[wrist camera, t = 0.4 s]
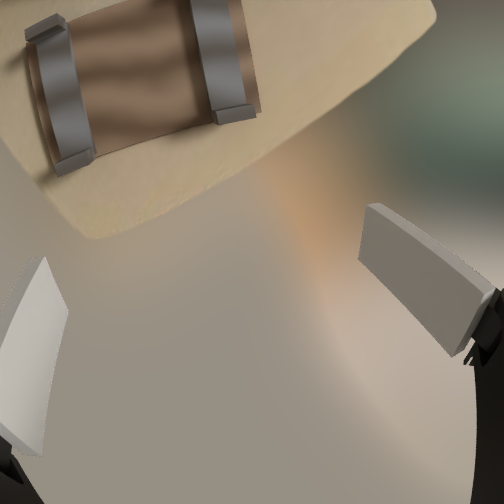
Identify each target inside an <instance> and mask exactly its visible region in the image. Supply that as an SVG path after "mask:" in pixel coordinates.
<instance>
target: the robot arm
mask: <svg viewBox="0 0 504 504" xmlns="http://www.w3.org/2000/svg"><path fill="white" fill-rule="evenodd" d="M358 259H359V261H361V262H362V263H363V264H364V265H365V266H366V267H367V268H368V269H369V270H370V271H371V272H372V273H373V274H374V275H375V276H376V277H377V278H378V279H379V280H380V281H381V282H382V283H383V284H384V285H385V286H386V287H387V288H388V289H389V290H390V291H391V292H392V293H393V294H394V296H395V297H397V299H398V300H399V301H400V302H401V303H402V304H403V305H404V306H405V307H406V308H407V309H408V310H409V311H410V312H411V313H412V314H413V315H414V317H416V319H417V320H418V321H419V322H420V323H421V324H422V325H423V326H424V327H425V328H426V329H427V331H428V332H429V333H430V334H431V335H432V336H433V337H434V338H435V339H436V341H437V342H438V343H439V344H440V345H441V346H442V347H443V348H444V350H446V352H447V353H448V354H449V355H450V356H451V357H453V356H455V355H456V354H458V353H459V352H461V351H463V350H464V349H465V347H466V345H467V344H468V342H469V340H470V338H471V337H472V338H473V339H474V340H475V343H474V345H473V346H472V348H471V350H470V351H469V353H468V355H467V356H466V358H465V359H464V365H466V364H467V362H468V361H469V359H470V358H471V357H473V359H472V360H471V362H470V364H469V365H470V366H474V372H475V385H476V406H477V438H476V440H477V441H476V458H475V471H474V480H473V488H472V496H471V502H470V504H504V288H503V289H502V291H500V290H498V289H497V288H496V287H495V286H494V285H492V284H491V283H490V282H489V281H488V280H486V279H485V278H484V277H483V276H481V275H480V274H479V273H478V272H477V271H475V270H474V269H473V268H471V267H470V266H469V265H468V264H466V263H465V262H464V261H463V260H461V259H460V258H459V257H458V256H456V255H454V254H453V253H452V252H451V251H449V250H448V249H447V248H445V247H444V246H443V245H441V244H440V243H439V242H437V241H436V240H434V239H433V238H432V237H430V236H429V235H427V234H426V233H424V232H423V231H421V230H420V229H419V228H417V227H416V226H414V225H413V224H411V223H410V222H408V221H407V220H405V219H404V218H402V217H401V216H399V215H398V214H396V213H395V212H393V211H392V210H390V209H389V208H387V207H386V206H384V205H382V204H381V203H375V204H367V205H366V211H365V219H364V226H363V232H362V239H361V245H360V251H359V257H358ZM68 312H69V311H68V309H67V307H66V305H65V303H64V301H63V299H62V296H61V294H60V292H59V289H58V287H57V285H56V282H55V280H54V278H53V275H52V273H51V270H50V268H49V265H48V263H47V260H46V257H45V256H41V257H36V258H31V259H29V261H28V262H27V264H26V266H25V267H24V269H23V271H22V272H21V274H20V276H19V277H18V279H17V281H16V283H15V285H14V286H13V288H12V290H11V292H10V294H9V295H8V297H7V300H6V301H5V303H4V305H3V307H2V309H1V311H0V504H44V502H43V501H42V499H41V498H40V497H39V495H38V494H37V492H36V490H35V489H34V487H33V486H32V484H31V483H30V481H29V479H28V478H27V476H26V474H25V473H24V471H23V469H22V468H21V466H20V464H19V462H18V461H17V459H16V458H15V457H14V455H12V454H11V449H12V446H13V447H14V448H15V449H17V450H18V451H19V452H21V453H22V454H24V455H30V456H39V457H42V450H43V439H44V430H45V422H46V414H47V407H48V400H49V394H50V389H51V383H52V378H53V373H54V368H55V364H56V359H57V354H58V350H59V346H60V342H61V338H62V334H63V330H64V327H65V323H66V320H67V316H68Z"/></svg>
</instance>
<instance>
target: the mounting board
mask: <svg viewBox="0 0 504 504" xmlns="http://www.w3.org/2000/svg"><path fill="white" fill-rule="evenodd" d="M25 39H26V41H28V42H27V43H26V49H27V56H28V63H29V69H30V75H31V80H32V85H33V90H34V95H35V100H36V104H37V109H38V113H39V117H40V121H41V125H42V128H43V132H44V136H45V139H46V143H47V146H48V150H49V153H50V156H51V159H52V162H53V165H54V168H55V171H56V174H57V177H60V176H62V175H65V174H67V173H70V172H72V171H74V170H77V169H79V168H82V167H84V166H87V165H90V164H91V163H92V162H93V161H94V160H95V159H96V158H95V157H98V156H101V155H103V154H106V153H109V152H112V151H114V150H117V149H120V148H123V147H126V146H129V145H132V144H135V143H138V142H141V141H145V140H148V139H151V138H154V137H158V136H161V135H165V134H168V133H172V132H175V131H179V130H183V129H187V128H191V127H194V126H199V125H203V124H207V123H211V122H214V123H215V124H217V125H223V124H227V123H232V122H237V121H242V120H247V119H252V118H256V113H260V112H262V111H261V105H260V100H259V94H258V88H257V82H256V77H255V71H254V66H253V60H252V55H251V49H250V44H249V39H248V34H247V29H246V23H245V18H244V13H243V8H242V4H241V0H128V1H124V2H121V3H118V4H115V5H112V6H109V7H106V8H103V9H100V10H97V11H95V12H92V13H89V14H87V15H84V16H82V17H79V18H77V19H74V20H72V21H70V22H68V23H66V22H65V19H64V18H63V17H61V16H60V15H59V14H57V13H56V14H54V15H52V16H50V17H48V18H46V19H44V20H42V21H40V22H38V23H36V24H34V25H33V26H31V27H29V28H27V29H25Z"/></svg>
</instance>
